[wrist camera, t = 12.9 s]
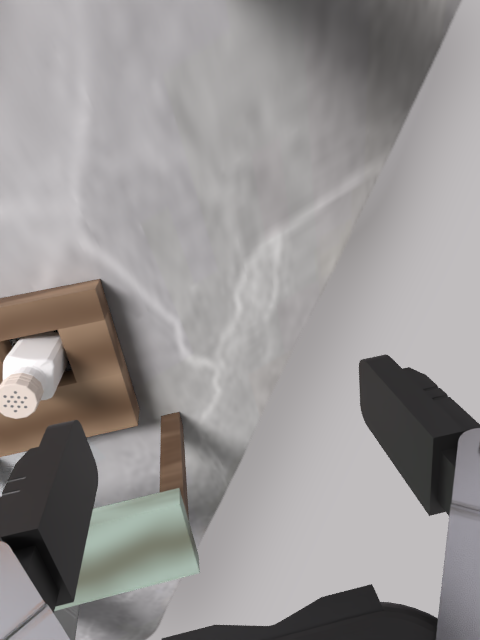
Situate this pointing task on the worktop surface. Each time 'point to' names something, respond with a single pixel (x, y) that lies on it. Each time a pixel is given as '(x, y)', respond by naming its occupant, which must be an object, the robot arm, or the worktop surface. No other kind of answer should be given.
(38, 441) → the stand
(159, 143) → the worktop surface
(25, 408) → the pepper shaker
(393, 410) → the robot arm
